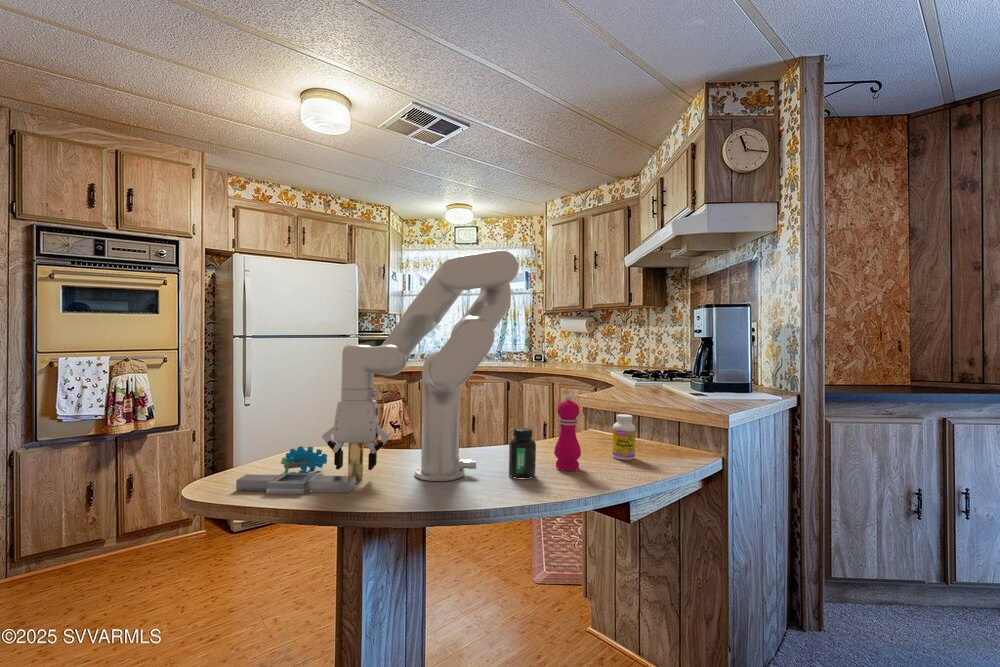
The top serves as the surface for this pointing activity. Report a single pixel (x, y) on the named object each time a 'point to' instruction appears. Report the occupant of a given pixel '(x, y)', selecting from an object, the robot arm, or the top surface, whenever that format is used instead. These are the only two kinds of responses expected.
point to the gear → (304, 459)
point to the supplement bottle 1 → (522, 454)
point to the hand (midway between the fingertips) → (355, 467)
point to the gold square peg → (355, 460)
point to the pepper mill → (567, 436)
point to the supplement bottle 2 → (624, 438)
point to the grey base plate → (295, 483)
